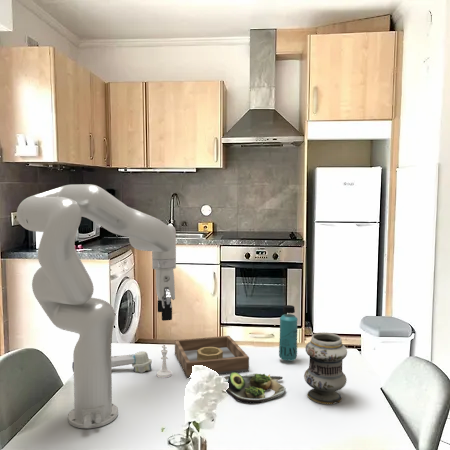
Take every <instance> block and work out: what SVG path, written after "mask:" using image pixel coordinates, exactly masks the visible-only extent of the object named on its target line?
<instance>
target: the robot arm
mask: <svg viewBox="0 0 450 450" xmlns="http://www.w3.org/2000/svg"><path fill="white" fill-rule="evenodd" d="M82 217H83V218H86V219H88V220H90V221H92V222H93V223H95V224H97V225H98V226H101V227H102V228H103V229H105V230H107V231H108V232H110V233H112V234H114V235H118V236H120V237H121V236H122V237H126V238H128V242H129V244H130V246H131V247H132V248H134V249H136V250H138V251H142V252H143V251H144V252H146V251H147V252H152V255H151V257H152V259H151V260H152V261H151V262H152V264H151V265H152V266H151V267H152V270H155V290H156V296H157V313H161V321H164V322H165V321H172V320H173V305H172V304H173V303H172V301H174V300H175V299H176V292H175V291H176V290H175V289H176V288H175V285H176V284H175V273H174V270H175V269H176V268H177V263H176V262H177V244H176V239H177V234H176V232H177V231H176V227H174V226H173V225H171V224H169V225H168V224H166V223H165V222H164V221H162V220H161V219H160V218H157V217H154V216H153V215H149V214H148V213H145V212H142V211H140V210H137V209H135V208H132V207H130V206H127V205H126V204H125V203H124V202H122V201H121V200H120V199H118V198H116V197H115V196H114V195H112V193H109V192H108V191H107V190H106V189H104V188H102V187H100V186H98V185H97V184H91V183H90V184H87V183H85V184H83V183H82V184H81V183H80V184H66V185H62V186H59V187H56V188H52V189H50V190H46V191H43V192H40V193H36V194H34V195H31V196H28V197H26V198H25V199H23V200H22V201H21V202H20V203H19V205H18V207H17V209H16V219H17V222H18V223H19V224H20V226H22V227H23V228H24V229H25V230H28V231H30V232H37V233H42V235H41V238H40V242H39V245H38V250H37V260H38V263H39V265H40V268H38V269H37V270H36V271H35V273H34V275H33V277H32V281H31V282H32V283H31V286H32V287H31V288H32V292H33V295H34V297H35V299H36V300H37V302H38V304H39V305H40V306H41V309H42V310H43V311H44V313H45V314H46V316H47V318H48V319H49V320H50V322H51V323H52V324H53V325H54V327H56V328H58V329H59V330H63V331H65V332H66V331H67V332H71V333H75V334H78V335H79V337H78V339H77V342H76V344H75V346H74V348H73V357H72V358H73V360H72V361H73V362H74V372H73V399H74V400H73V403H74V404H73V405H74V406H73V408H72V409H71V411H69V413H68V417H67V418H68V419H67V420H68V423H69V424H70V425H71V426H73V427H75V428H79V429H94V428H95V429H96V428H99V427H103V426H106V425H108V424H110V423H112V422H113V421H114V420H115V419H116V418H117V417H118V415H119V408H118V407H117V405H116V404H114V403H113V396H112V395H113V393H112V392H113V391H112V390H113V389H112V388H113V387H112V386H113V383H112V380H113V379H112V377H113V376H112V373H113V372H112V368H113V367H111V356H112V339H113V331H114V326H115V321H116V313H115V310H114V308H113V306H112V305H111V303H109V302H108V301H106V300H103V299H101V298H95V297H93V295H94V284H93V281H92V279H91V276H90V275H89V273H88V271H87V270H86V267H85V266H84V264H83V262H82V260H81V258H80V257H79V255H78V252H77V250H76V246H75V242H76V241H75V240H76V236H77V232H78V230H79V227H80V224H81V221H82ZM73 362H72V363H73Z"/></svg>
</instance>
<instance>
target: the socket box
mask: <svg viewBox="0 0 450 450" xmlns="http://www.w3.org/2000/svg"><path fill="white" fill-rule="evenodd" d="M174 355H175V357H176V359H177V362H178V363H179V366H180V367H181V369H182V372H183V374H184V376H185V378H186V379H187V378H189V377H190V375H191V373H192V366H194V365H203V366H206V367H208V368H210V369H212V370H214V371H216V372H217V373H218V374H219V375H218V376H225V375H230V374H231V373H233V372H235V373H238V374H241V373H248V372H249V371H250V357H249V356H248V354H247V353H246V352H245V351H244V350H243V348H241V346H240V345H238V344H237V343H236V341H235V340H234V339H233V338H232V337H231V335H222V336H209V337H198V338H188V339H185V338H184V339H177V340H174ZM189 379H190V378H189Z"/></svg>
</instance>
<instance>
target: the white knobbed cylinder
mask: <svg viewBox="0 0 450 450" xmlns="http://www.w3.org/2000/svg"><path fill="white" fill-rule="evenodd" d="M152 360H153V359H151V358H149V355H148V352H147V351H145V350H144V351H143V350H142V351H139V352H136V353H133V354H124V355H111V367H112V368H116V367H122V366H132V367H133V370H134V372H135V373H140V374H142V373H145V372H146V371H147V372H149V371H151V370H152V362H153V361H152ZM72 372H73V373H74V362H72Z"/></svg>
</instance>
